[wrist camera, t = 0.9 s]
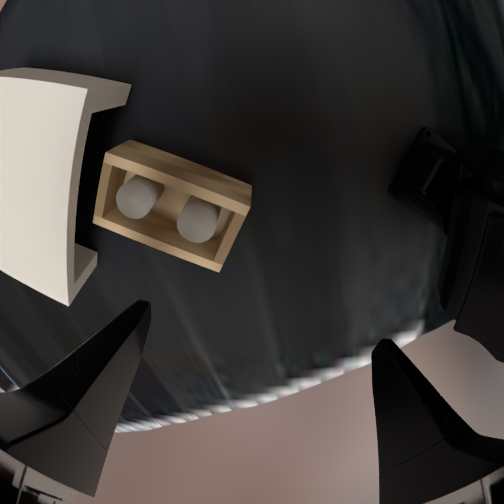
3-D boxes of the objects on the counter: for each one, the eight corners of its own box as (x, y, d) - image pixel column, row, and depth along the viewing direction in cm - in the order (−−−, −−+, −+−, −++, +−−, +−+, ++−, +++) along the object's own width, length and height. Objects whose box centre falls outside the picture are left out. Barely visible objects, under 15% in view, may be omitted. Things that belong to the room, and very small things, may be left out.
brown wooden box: (252, 185, 21) (250, 207, 18) (224, 243, 24) (219, 272, 20) (130, 139, 19) (105, 152, 16) (115, 200, 22) (92, 222, 18)
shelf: (131, 84, 16) (87, 89, 11) (96, 265, 25) (68, 306, 20) (24, 67, 14) (-24, 75, 9) (12, 226, 23) (-21, 256, 18)
